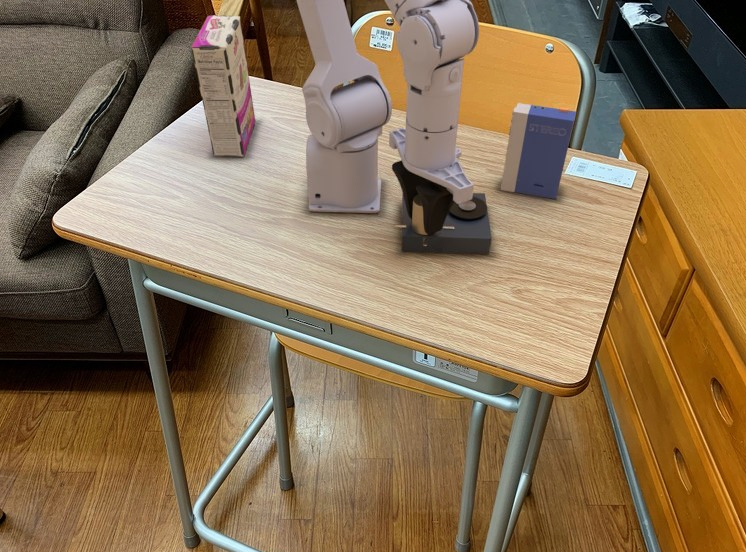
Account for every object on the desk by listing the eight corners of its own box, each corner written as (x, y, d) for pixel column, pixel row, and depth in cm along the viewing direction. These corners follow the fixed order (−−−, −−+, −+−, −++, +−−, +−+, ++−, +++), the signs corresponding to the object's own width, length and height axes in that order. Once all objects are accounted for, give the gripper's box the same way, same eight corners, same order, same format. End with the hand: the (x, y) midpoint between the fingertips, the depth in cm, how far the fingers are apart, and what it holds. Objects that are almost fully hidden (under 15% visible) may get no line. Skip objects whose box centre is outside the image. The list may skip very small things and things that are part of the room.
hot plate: (393, 261, 81) (394, 244, 80) (395, 206, 90) (395, 189, 88) (490, 264, 81) (493, 246, 80) (482, 208, 90) (485, 192, 88)
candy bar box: (225, 121, 106) (206, 14, 94) (256, 122, 106) (241, 14, 94) (211, 157, 98) (189, 45, 86) (244, 158, 98) (227, 46, 86)
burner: (447, 220, 83) (447, 216, 83) (445, 197, 87) (446, 193, 87) (488, 222, 83) (489, 217, 83) (485, 198, 87) (485, 194, 87)
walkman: (558, 189, 93) (576, 108, 85) (555, 199, 92) (574, 118, 83) (503, 179, 95) (516, 99, 87) (499, 189, 93) (512, 108, 85)
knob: (407, 230, 82) (408, 200, 79) (418, 217, 84) (420, 188, 81) (430, 238, 81) (433, 208, 78) (441, 224, 83) (444, 195, 80)
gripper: (502, 140, 69) (486, 244, 79) (426, 86, 78) (420, 186, 88) (446, 157, 67) (437, 262, 76) (374, 99, 75) (374, 201, 85)
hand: (424, 223), depth 82 cm, fingers closed on knob, 3 cm apart
